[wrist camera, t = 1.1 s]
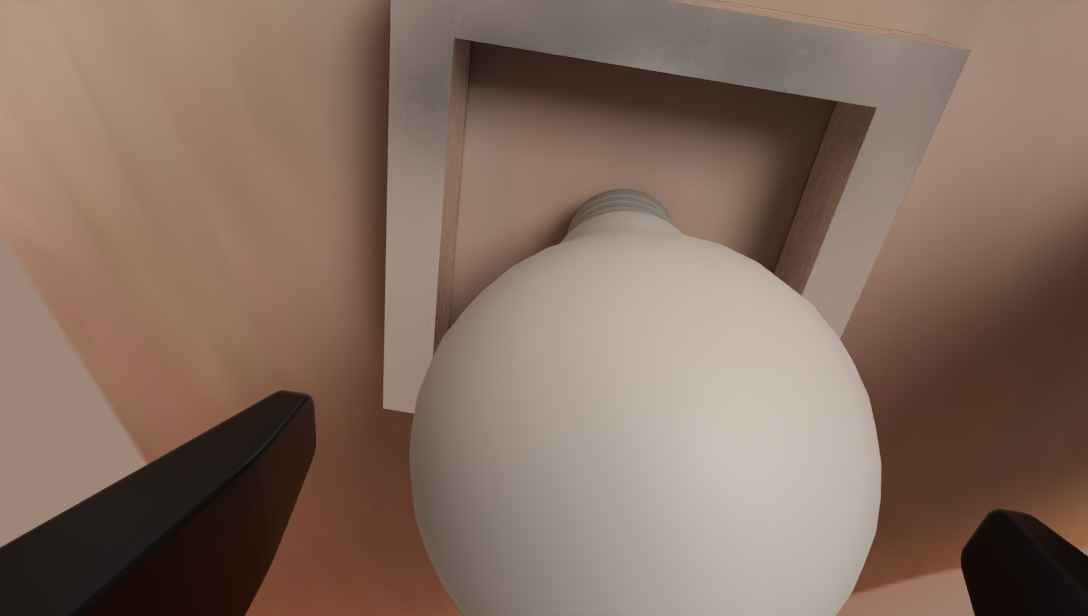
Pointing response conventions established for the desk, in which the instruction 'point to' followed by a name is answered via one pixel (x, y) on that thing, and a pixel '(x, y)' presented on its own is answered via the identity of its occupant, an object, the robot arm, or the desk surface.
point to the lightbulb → (643, 435)
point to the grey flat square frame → (671, 47)
